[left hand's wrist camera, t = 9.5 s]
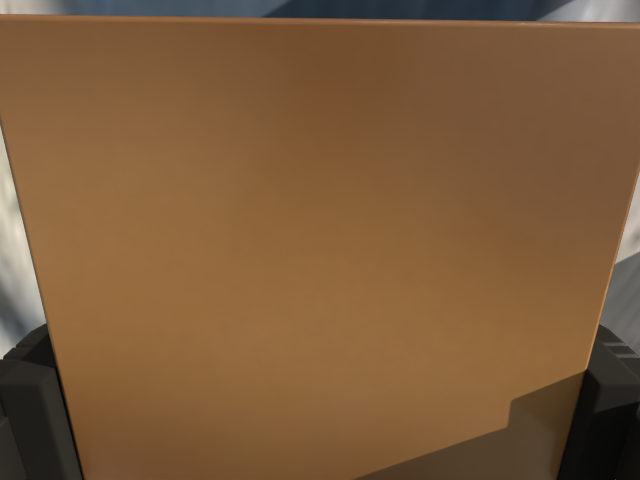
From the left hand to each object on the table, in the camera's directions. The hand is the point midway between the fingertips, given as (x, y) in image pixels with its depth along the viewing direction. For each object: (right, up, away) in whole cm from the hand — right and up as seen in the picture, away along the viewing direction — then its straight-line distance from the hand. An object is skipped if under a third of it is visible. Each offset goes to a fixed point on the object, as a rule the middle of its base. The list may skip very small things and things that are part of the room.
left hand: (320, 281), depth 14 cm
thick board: (0, -20, +8) cm, 21 cm away
